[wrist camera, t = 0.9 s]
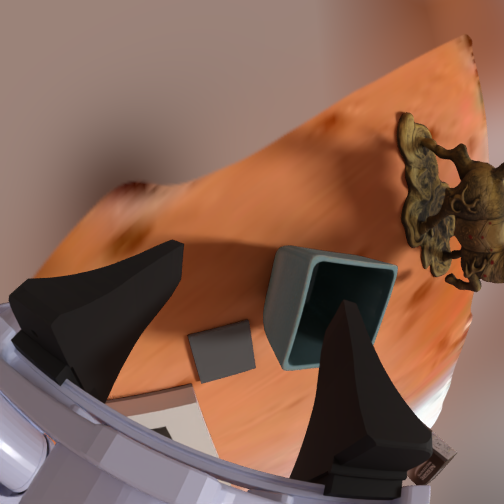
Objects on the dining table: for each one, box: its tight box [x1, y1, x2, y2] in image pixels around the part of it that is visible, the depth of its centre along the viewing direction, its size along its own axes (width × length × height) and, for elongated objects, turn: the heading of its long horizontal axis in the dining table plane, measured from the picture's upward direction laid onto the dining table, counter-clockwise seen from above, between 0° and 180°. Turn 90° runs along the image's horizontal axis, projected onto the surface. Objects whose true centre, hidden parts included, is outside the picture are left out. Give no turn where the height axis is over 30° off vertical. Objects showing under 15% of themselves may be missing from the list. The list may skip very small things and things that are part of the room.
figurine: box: [397, 112, 504, 292], centre depth 24 cm, size 13×25×20 cm, turn 28°
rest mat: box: [188, 320, 256, 384], centre depth 28 cm, size 6×6×1 cm
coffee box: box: [407, 422, 457, 485], centre depth 42 cm, size 9×6×16 cm
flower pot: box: [263, 245, 398, 371], centre depth 24 cm, size 9×9×9 cm
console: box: [105, 384, 231, 486], centre depth 27 cm, size 14×22×3 cm, turn 7°
